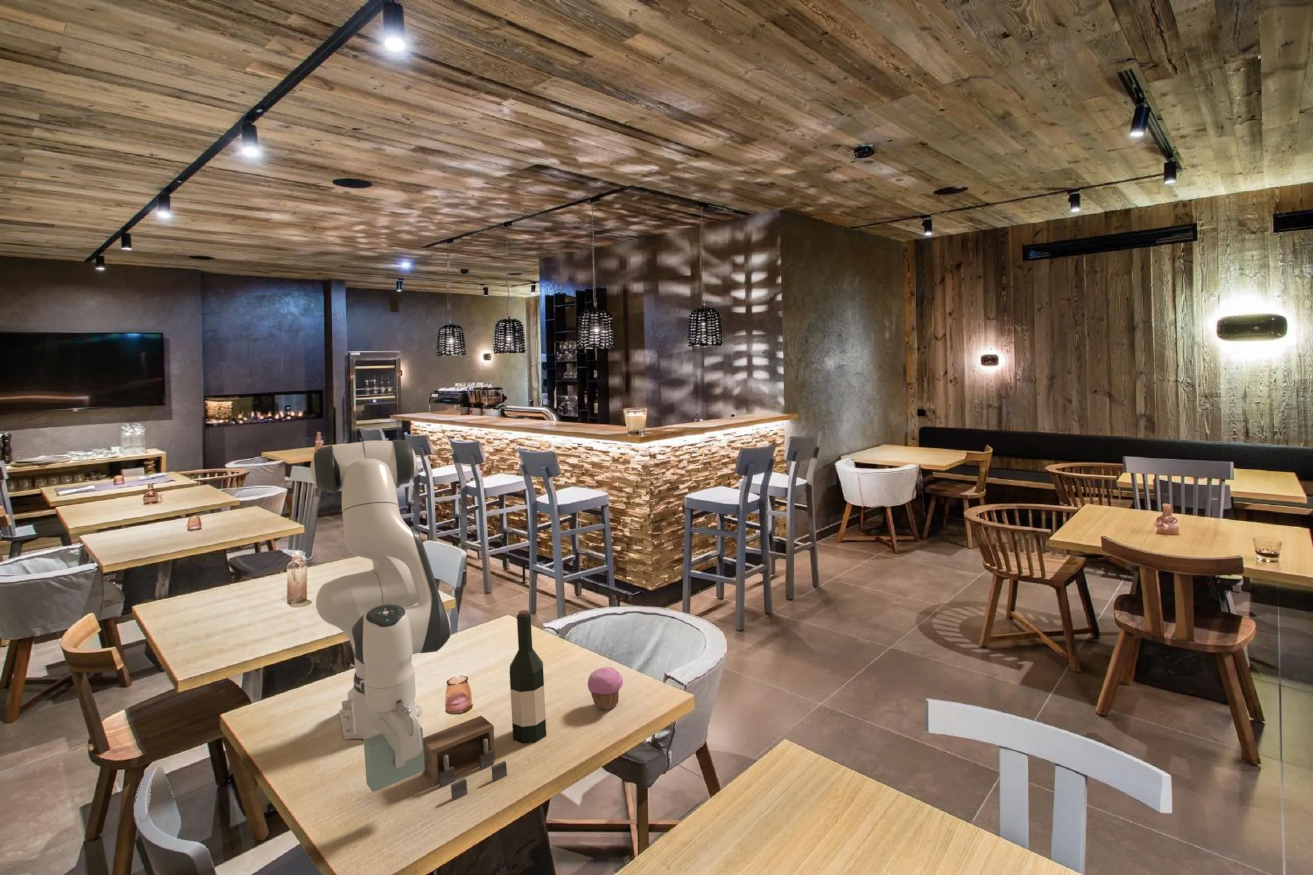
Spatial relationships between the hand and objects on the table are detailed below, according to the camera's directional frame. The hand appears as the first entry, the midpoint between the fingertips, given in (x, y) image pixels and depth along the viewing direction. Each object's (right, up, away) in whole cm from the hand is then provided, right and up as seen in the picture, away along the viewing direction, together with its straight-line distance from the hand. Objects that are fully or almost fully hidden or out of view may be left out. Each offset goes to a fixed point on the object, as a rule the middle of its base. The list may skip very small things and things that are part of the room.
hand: (395, 759), depth 130 cm
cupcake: (+38, -7, +42) cm, 57 cm away
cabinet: (+10, -10, +14) cm, 20 cm away
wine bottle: (+20, -8, +30) cm, 37 cm away
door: (0, -4, 0) cm, 4 cm away
